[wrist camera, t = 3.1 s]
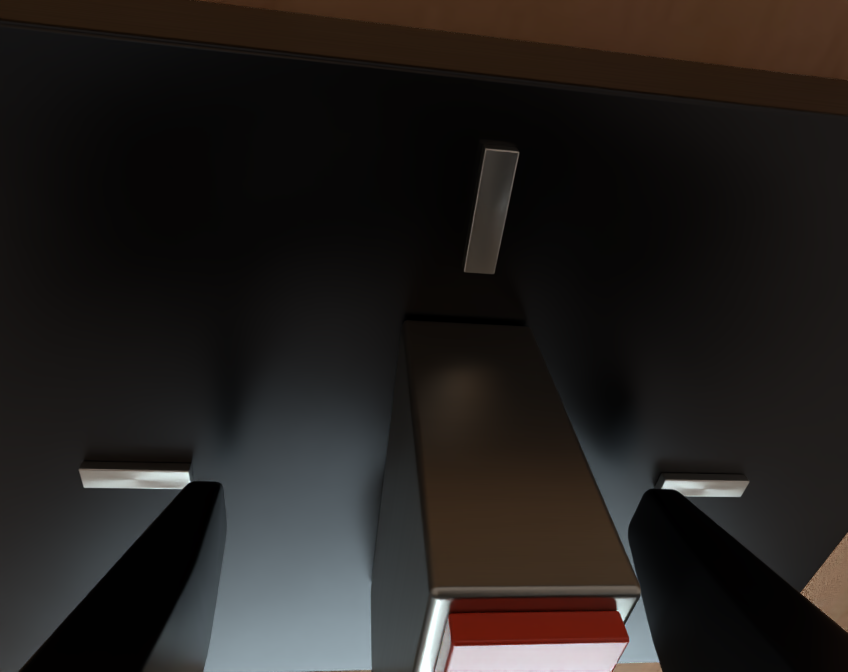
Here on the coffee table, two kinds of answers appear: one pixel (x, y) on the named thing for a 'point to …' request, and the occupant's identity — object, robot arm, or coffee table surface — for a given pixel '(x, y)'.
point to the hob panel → (392, 292)
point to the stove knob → (491, 517)
